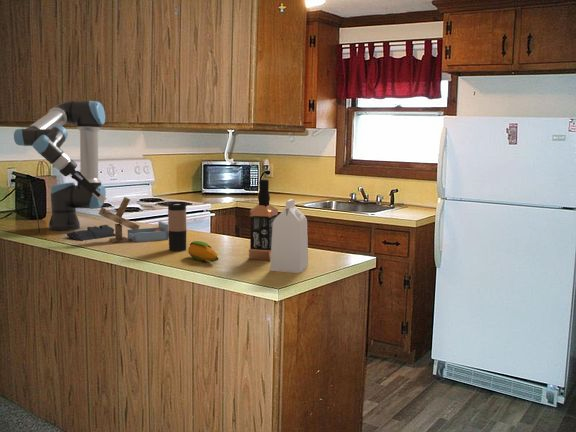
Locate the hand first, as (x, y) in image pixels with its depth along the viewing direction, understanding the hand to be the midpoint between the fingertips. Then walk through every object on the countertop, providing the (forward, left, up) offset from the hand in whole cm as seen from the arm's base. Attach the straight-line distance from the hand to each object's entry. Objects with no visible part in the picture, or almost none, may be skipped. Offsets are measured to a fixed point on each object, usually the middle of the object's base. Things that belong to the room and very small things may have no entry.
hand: (104, 200), depth 282 cm
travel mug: (+19, +38, -19) cm, 46 cm away
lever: (+1, +7, -10) cm, 12 cm away
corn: (+39, +52, -19) cm, 68 cm away
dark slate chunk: (-10, -10, -19) cm, 24 cm away
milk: (+50, +87, -19) cm, 102 cm away
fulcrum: (+1, +7, -19) cm, 20 cm away
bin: (-6, +18, -19) cm, 27 cm away
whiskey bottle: (+32, +76, -19) cm, 84 cm away
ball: (-9, +23, -16) cm, 29 cm away
